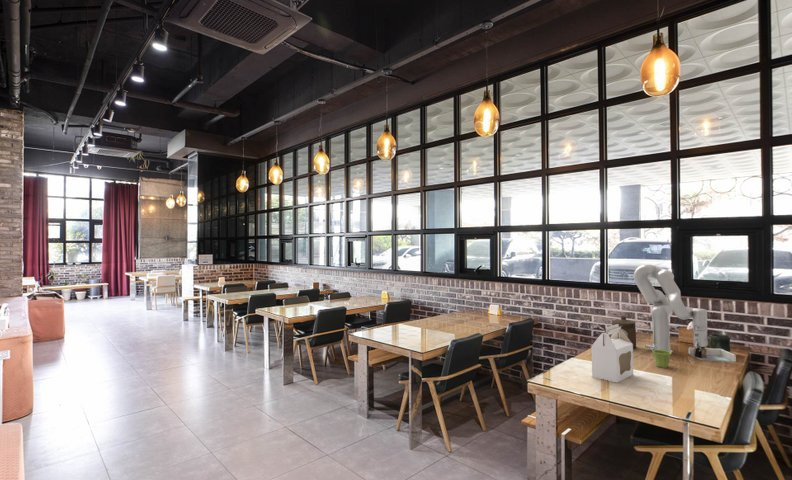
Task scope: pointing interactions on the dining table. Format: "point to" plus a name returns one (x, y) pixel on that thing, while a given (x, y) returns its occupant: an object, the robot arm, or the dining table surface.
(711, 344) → the mug
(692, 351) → the arena
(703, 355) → the walnut block
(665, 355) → the plant pot
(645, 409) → the dining table surface
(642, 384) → the dining table surface
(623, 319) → the wooden container
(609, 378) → the gable box
